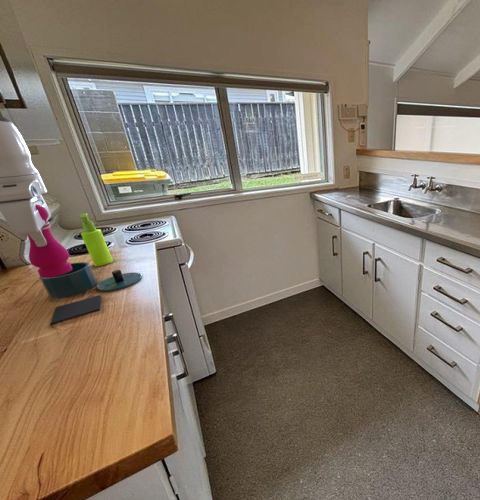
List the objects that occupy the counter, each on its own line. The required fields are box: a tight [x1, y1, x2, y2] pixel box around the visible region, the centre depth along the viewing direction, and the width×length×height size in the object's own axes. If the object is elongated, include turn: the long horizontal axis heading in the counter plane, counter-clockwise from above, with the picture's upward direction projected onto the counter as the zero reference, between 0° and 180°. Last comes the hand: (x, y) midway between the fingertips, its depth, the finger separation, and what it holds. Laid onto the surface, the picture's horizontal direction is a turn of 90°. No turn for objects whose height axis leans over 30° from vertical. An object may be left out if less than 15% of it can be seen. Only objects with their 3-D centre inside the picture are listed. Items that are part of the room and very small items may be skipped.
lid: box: [96, 269, 143, 292], centre depth 94 cm, size 12×12×5 cm
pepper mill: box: [26, 204, 72, 278], centre depth 72 cm, size 7×7×20 cm
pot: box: [39, 261, 98, 300], centre depth 90 cm, size 11×11×8 cm
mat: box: [49, 294, 102, 326], centre depth 80 cm, size 10×10×1 cm
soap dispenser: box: [79, 213, 114, 267], centre depth 108 cm, size 6×7×20 cm
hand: (45, 242), depth 72 cm, fingers closed on pepper mill, 5 cm apart
